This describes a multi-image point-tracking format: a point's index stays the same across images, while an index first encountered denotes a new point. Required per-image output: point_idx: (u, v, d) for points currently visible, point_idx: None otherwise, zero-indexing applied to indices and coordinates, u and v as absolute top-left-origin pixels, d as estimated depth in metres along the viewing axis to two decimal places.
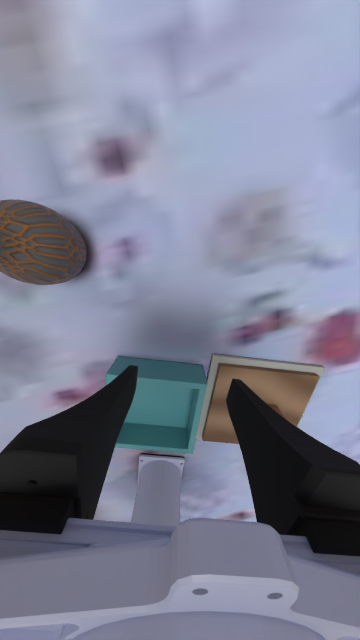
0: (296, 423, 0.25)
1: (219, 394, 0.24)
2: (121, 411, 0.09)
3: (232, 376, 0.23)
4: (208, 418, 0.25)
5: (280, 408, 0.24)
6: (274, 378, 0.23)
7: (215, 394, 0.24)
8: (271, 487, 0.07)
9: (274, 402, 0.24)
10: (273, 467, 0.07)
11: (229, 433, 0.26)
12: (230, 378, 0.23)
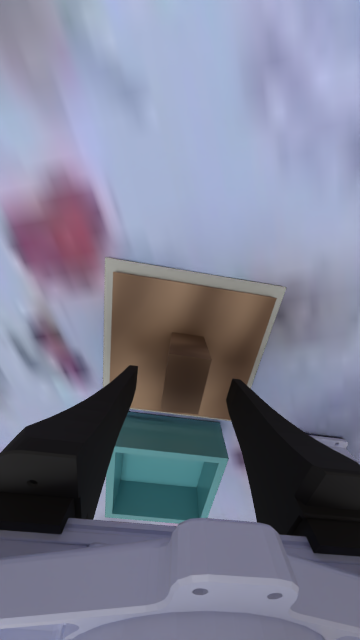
0: (215, 291, 0.14)
1: (152, 404, 0.18)
2: (121, 411, 0.09)
3: None
4: (194, 414, 0.18)
5: (179, 324, 0.15)
6: (122, 340, 0.15)
7: (153, 408, 0.18)
8: (271, 487, 0.07)
9: (167, 334, 0.15)
10: (273, 467, 0.07)
11: (225, 389, 0.17)
12: None
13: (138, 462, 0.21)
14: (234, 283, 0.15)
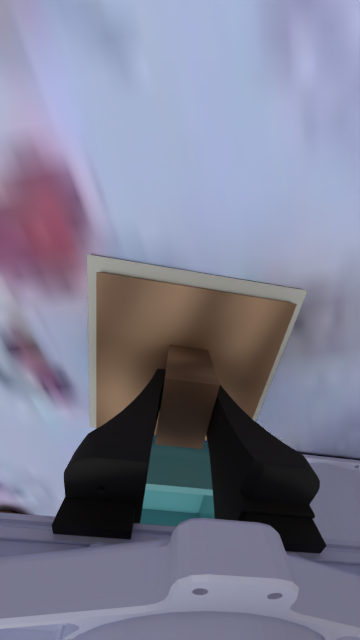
0: (222, 296, 0.11)
1: None
2: (156, 415, 0.10)
3: (112, 412, 0.15)
4: None
5: (178, 335, 0.12)
6: (110, 354, 0.13)
7: None
8: (225, 483, 0.07)
9: (163, 347, 0.13)
10: (228, 462, 0.07)
11: None
12: None
13: None
14: (245, 286, 0.12)
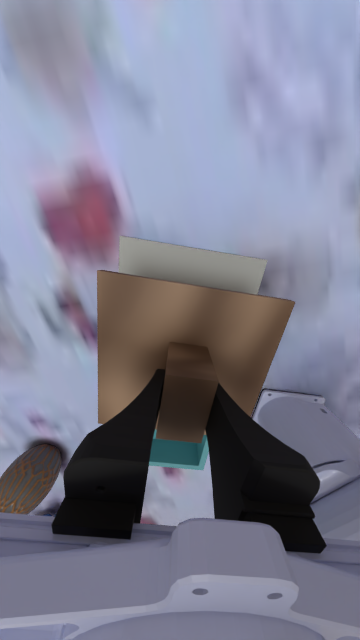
0: (222, 294, 0.12)
1: None
2: (156, 415, 0.10)
3: (114, 408, 0.15)
4: None
5: (178, 332, 0.13)
6: (111, 352, 0.13)
7: None
8: (225, 483, 0.07)
9: (164, 345, 0.13)
10: (228, 462, 0.07)
11: None
12: (118, 410, 0.15)
13: None
14: (225, 257, 0.18)
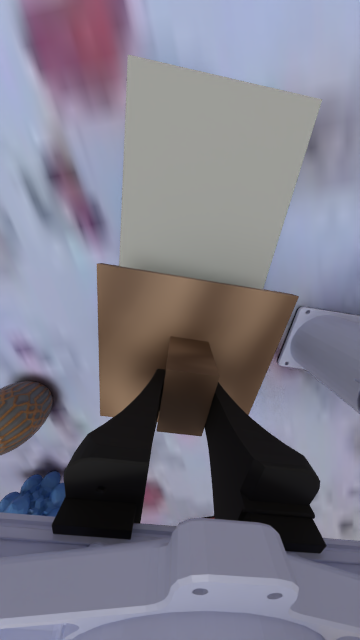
0: (224, 288, 0.11)
1: None
2: (156, 415, 0.10)
3: (116, 401, 0.15)
4: None
5: (179, 327, 0.12)
6: (112, 346, 0.13)
7: None
8: (225, 483, 0.07)
9: (165, 339, 0.13)
10: (228, 462, 0.07)
11: None
12: (120, 403, 0.15)
13: None
14: (266, 94, 0.14)
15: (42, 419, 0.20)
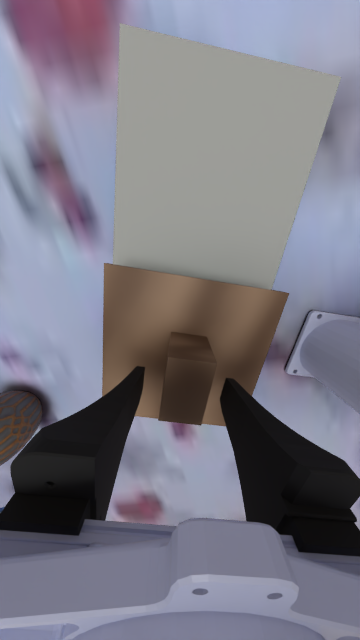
0: (220, 285, 0.12)
1: (150, 411, 0.16)
2: (130, 412, 0.09)
3: None
4: None
5: (179, 322, 0.13)
6: (116, 341, 0.14)
7: (150, 415, 0.16)
8: (260, 486, 0.07)
9: (166, 334, 0.14)
10: (262, 466, 0.07)
11: None
12: None
13: None
14: (278, 70, 0.12)
15: (29, 433, 0.19)
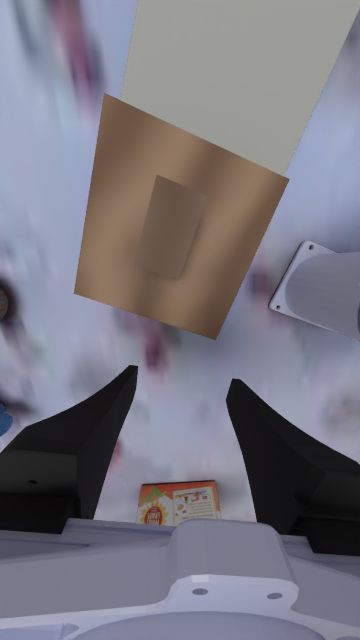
0: (223, 153, 0.12)
1: (126, 301, 0.15)
2: (121, 411, 0.09)
3: (93, 277, 0.15)
4: (171, 324, 0.16)
5: None
6: (102, 202, 0.13)
7: (126, 307, 0.15)
8: (271, 487, 0.07)
9: None
10: (273, 467, 0.07)
11: (212, 296, 0.15)
12: (98, 280, 0.15)
13: None
14: None
15: None
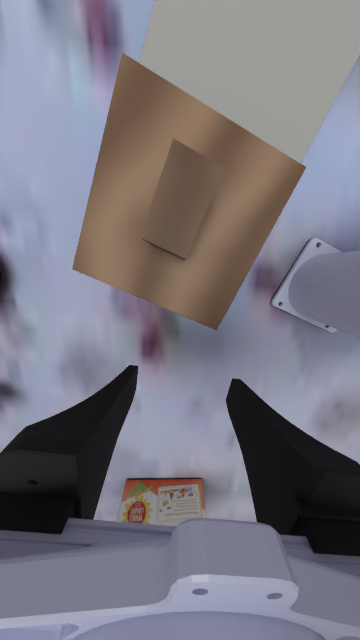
0: (241, 132, 0.11)
1: (127, 282, 0.15)
2: (121, 411, 0.09)
3: (95, 253, 0.14)
4: (172, 310, 0.15)
5: None
6: (111, 172, 0.12)
7: (126, 288, 0.15)
8: (271, 487, 0.07)
9: None
10: (273, 467, 0.07)
11: (217, 283, 0.15)
12: (99, 257, 0.14)
13: None
14: None
15: None
